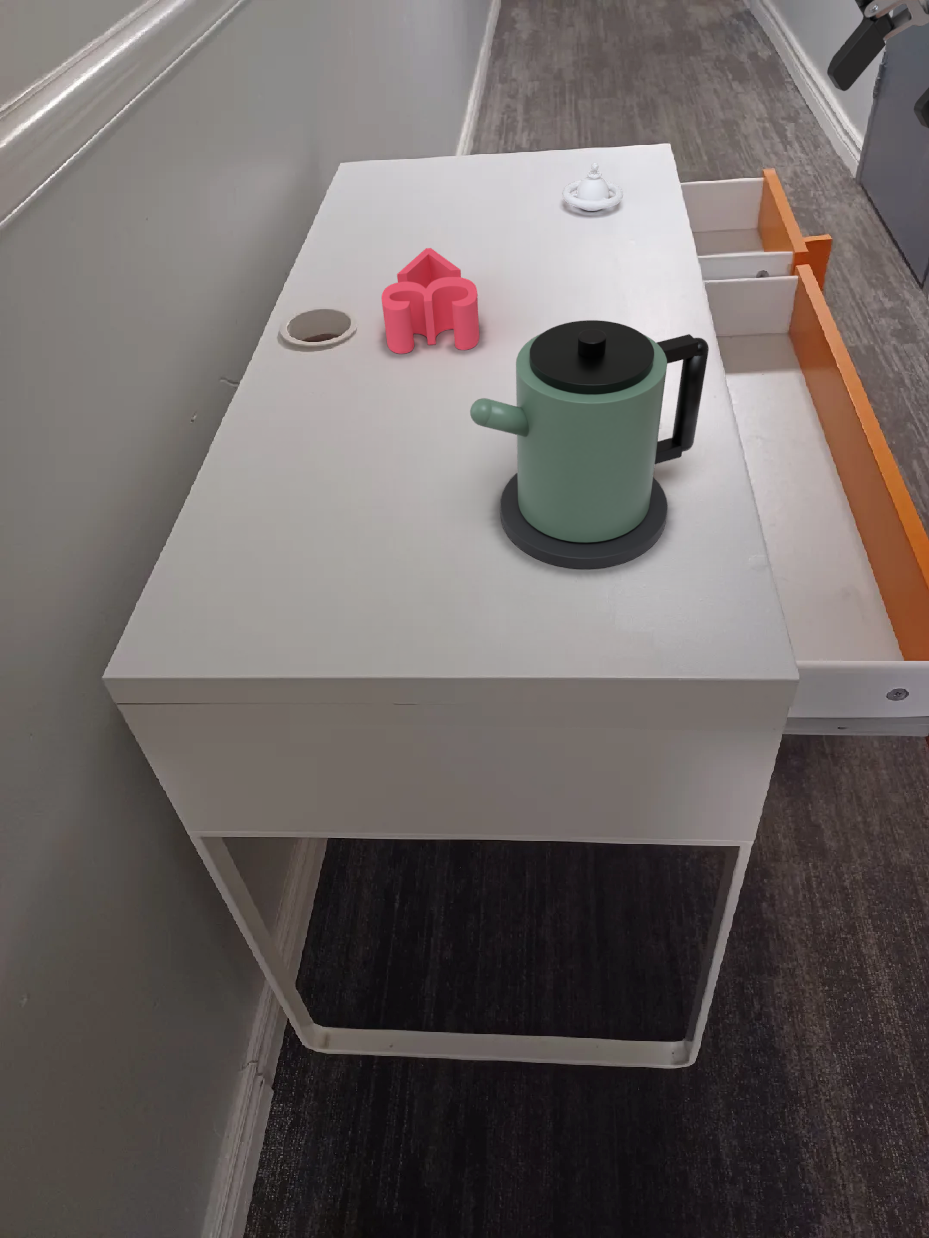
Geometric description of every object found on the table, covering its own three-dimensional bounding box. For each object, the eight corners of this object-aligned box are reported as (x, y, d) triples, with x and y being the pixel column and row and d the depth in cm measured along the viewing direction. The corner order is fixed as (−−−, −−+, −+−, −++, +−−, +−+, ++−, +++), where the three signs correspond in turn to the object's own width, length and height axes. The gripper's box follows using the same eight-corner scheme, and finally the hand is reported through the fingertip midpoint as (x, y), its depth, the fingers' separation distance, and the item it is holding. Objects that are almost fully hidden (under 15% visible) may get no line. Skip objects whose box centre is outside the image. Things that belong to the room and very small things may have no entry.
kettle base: (673, 472, 78) (675, 461, 77) (656, 580, 69) (658, 569, 68) (519, 455, 81) (519, 444, 80) (483, 556, 72) (483, 545, 71)
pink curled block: (390, 292, 104) (385, 250, 101) (476, 287, 104) (474, 245, 100) (385, 354, 95) (380, 311, 91) (480, 349, 94) (478, 305, 91)
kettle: (656, 434, 80) (676, 274, 69) (721, 506, 72) (755, 340, 61) (454, 490, 76) (442, 330, 65) (503, 572, 68) (497, 407, 58)
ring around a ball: (611, 224, 114) (629, 201, 119) (615, 178, 109) (634, 156, 114) (552, 215, 116) (572, 192, 121) (555, 170, 112) (575, 148, 117)
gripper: (980, -213, 54) (784, 35, 60) (1190, -197, 45) (934, 94, 51) (1014, -114, 59) (830, 106, 65) (1208, -82, 50) (973, 171, 56)
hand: (876, 100), depth 58 cm, fingers open, 8 cm apart
